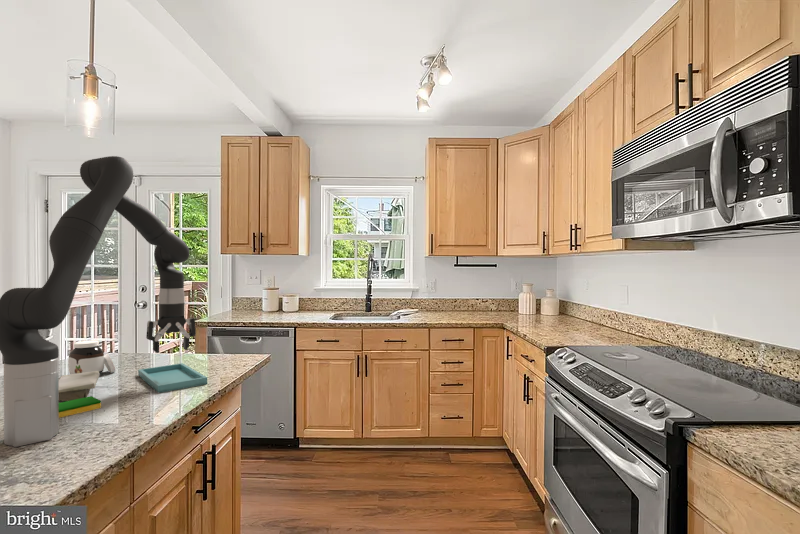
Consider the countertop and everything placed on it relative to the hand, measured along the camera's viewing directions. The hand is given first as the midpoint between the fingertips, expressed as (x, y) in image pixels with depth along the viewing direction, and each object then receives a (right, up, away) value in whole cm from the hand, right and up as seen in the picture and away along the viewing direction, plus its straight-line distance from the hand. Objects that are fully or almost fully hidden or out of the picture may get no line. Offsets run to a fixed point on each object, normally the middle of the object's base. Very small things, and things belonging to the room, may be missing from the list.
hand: (171, 350), depth 140 cm
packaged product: (-15, -7, -13) cm, 21 cm away
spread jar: (-30, -10, +6) cm, 33 cm away
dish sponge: (-11, -11, -30) cm, 34 cm away
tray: (0, -10, 0) cm, 10 cm away
